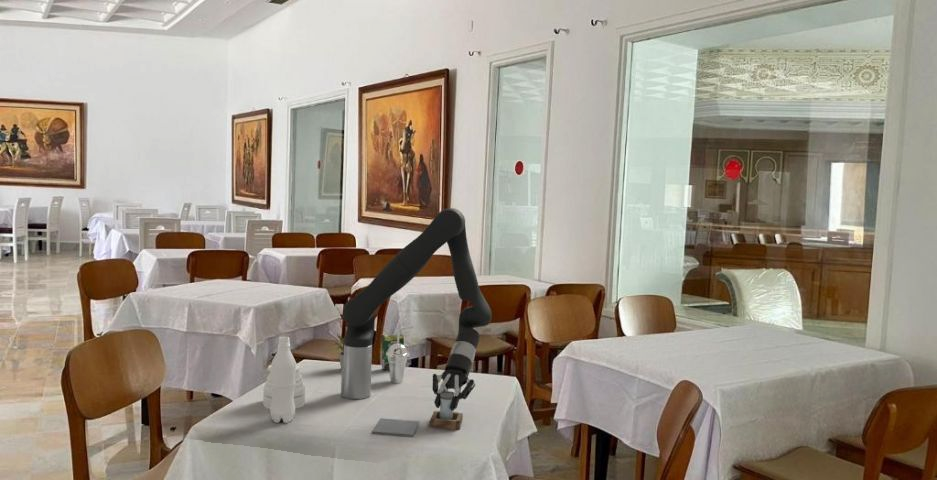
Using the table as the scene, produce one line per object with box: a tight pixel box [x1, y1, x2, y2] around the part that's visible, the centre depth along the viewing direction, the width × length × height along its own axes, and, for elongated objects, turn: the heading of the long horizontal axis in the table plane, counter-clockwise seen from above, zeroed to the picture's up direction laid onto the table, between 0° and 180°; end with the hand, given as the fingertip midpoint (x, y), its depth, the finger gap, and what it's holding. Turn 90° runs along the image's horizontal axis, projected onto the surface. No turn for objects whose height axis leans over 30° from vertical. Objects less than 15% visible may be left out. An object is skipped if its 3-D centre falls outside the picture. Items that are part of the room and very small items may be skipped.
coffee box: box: [381, 333, 405, 371], centre depth 291 cm, size 8×3×13 cm, turn 114°
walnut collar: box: [429, 410, 464, 431], centre depth 232 cm, size 9×9×2 cm
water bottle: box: [269, 336, 297, 424], centre depth 227 cm, size 7×7×25 cm
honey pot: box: [262, 345, 306, 410], centre depth 244 cm, size 13×13×18 cm
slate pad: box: [371, 417, 421, 437], centre depth 226 cm, size 12×12×1 cm
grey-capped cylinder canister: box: [439, 390, 455, 420], centre depth 232 cm, size 4×4×8 cm
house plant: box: [330, 326, 347, 371], centre depth 289 cm, size 14×14×16 cm
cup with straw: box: [386, 325, 414, 384], centre depth 275 cm, size 8×9×20 cm
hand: (444, 407), depth 230 cm, fingers closed on grey-capped cylinder canister, 4 cm apart
